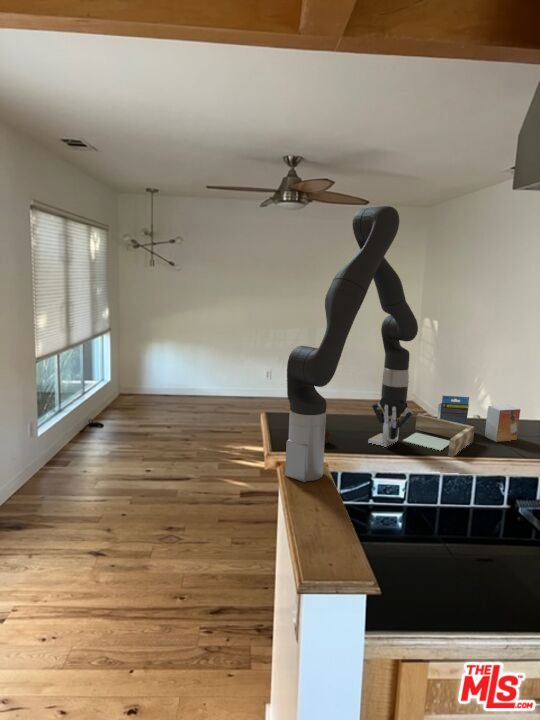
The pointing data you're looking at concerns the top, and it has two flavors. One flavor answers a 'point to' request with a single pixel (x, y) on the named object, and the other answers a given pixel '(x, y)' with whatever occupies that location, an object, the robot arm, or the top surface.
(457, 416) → the label tape box
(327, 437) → the bolt
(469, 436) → the corner walls
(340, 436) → the top surface
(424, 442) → the pad
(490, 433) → the small box
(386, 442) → the angle bracket
